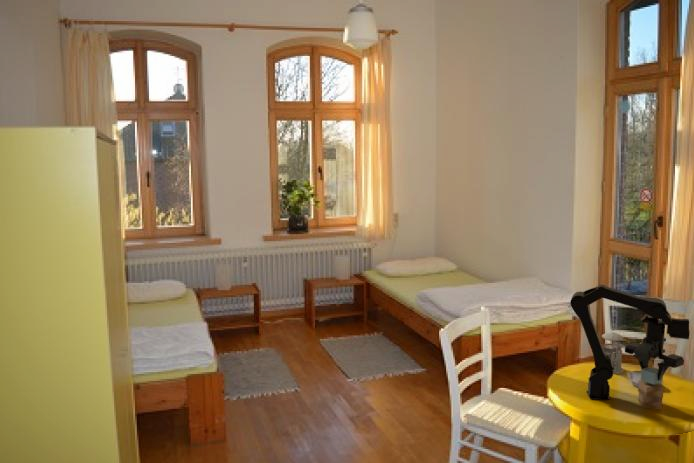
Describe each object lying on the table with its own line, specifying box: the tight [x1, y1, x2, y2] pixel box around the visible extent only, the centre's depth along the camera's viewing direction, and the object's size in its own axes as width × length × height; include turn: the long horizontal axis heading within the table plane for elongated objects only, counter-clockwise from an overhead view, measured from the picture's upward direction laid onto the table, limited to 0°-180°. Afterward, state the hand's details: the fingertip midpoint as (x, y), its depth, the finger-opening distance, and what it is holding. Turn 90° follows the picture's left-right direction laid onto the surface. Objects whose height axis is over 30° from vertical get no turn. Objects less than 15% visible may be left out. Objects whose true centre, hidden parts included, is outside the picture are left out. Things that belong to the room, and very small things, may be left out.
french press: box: [601, 309, 625, 375], centre depth 251 cm, size 10×12×25 cm
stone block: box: [627, 370, 663, 389], centre depth 239 cm, size 12×5×10 cm
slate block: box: [640, 365, 664, 385], centre depth 219 cm, size 5×5×4 cm
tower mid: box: [637, 380, 665, 398], centre depth 220 cm, size 6×6×4 cm
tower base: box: [637, 392, 664, 410], centre depth 221 cm, size 6×6×4 cm
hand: (651, 377), depth 219 cm, fingers closed on slate block, 5 cm apart
